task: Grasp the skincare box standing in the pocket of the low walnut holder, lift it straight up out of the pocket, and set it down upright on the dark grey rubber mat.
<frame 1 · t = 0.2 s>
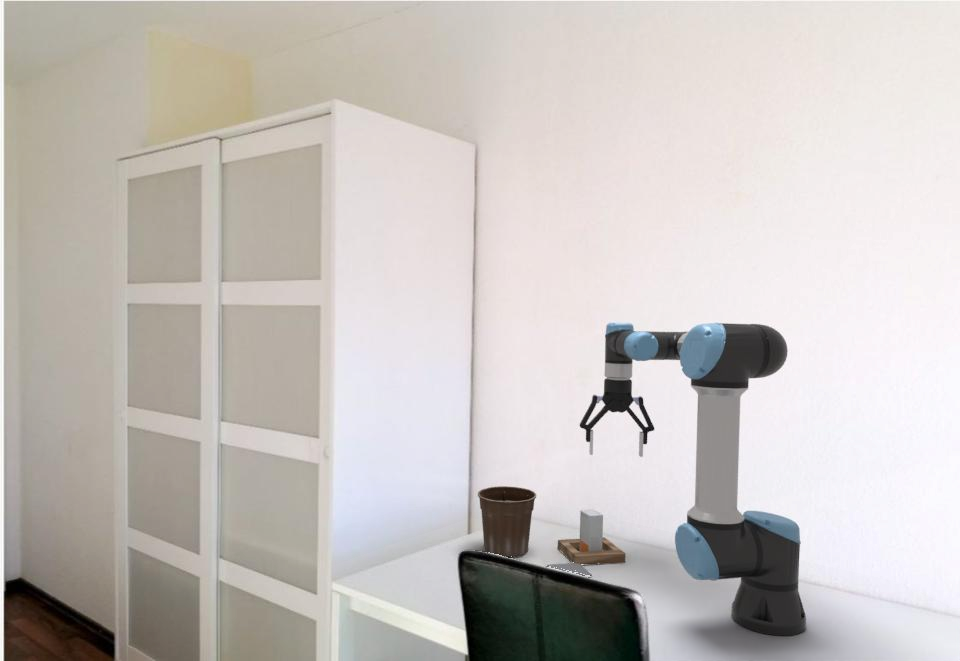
hand: (615, 454, 205), 27 cm above the table, tool pointing down, fingers open, 13 cm apart
holder: (590, 555, 202), on the table
mat: (568, 571, 189), on the table
skincare box: (590, 556, 202), resting in holder
plant pot: (505, 552, 204), on the table
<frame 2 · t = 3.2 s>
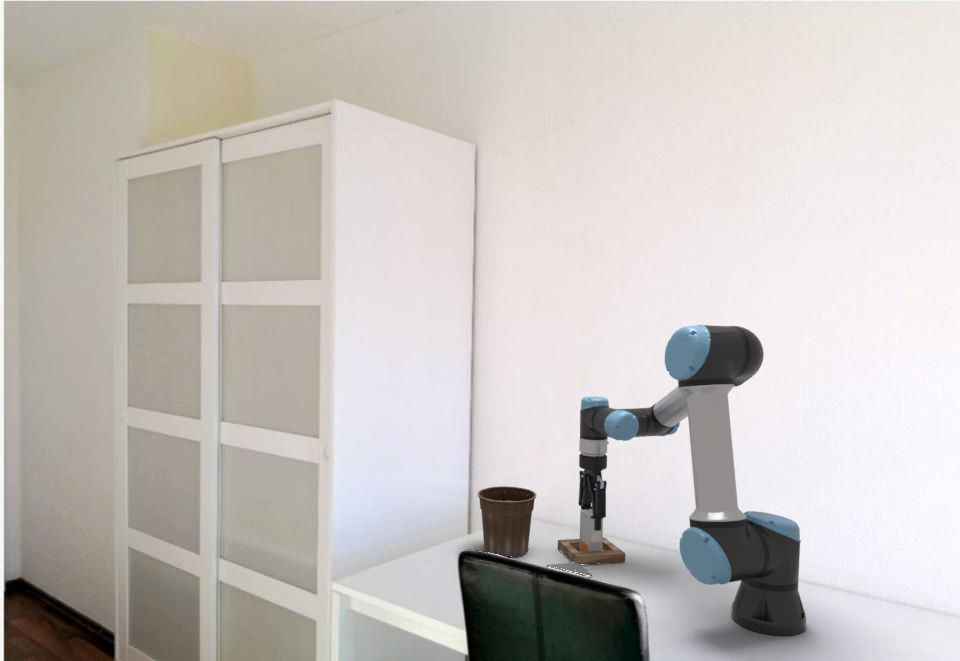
hand: (591, 537, 202), 5 cm above the table, tool pointing down, fingers closed on skincare box, 6 cm apart
skincare box: (590, 556, 202), resting in holder, touching gripper
everything else where it was.
when the fingers open (7 cm above the table, at t = 11.3 s): skincare box drops 1 cm, resting on mat.
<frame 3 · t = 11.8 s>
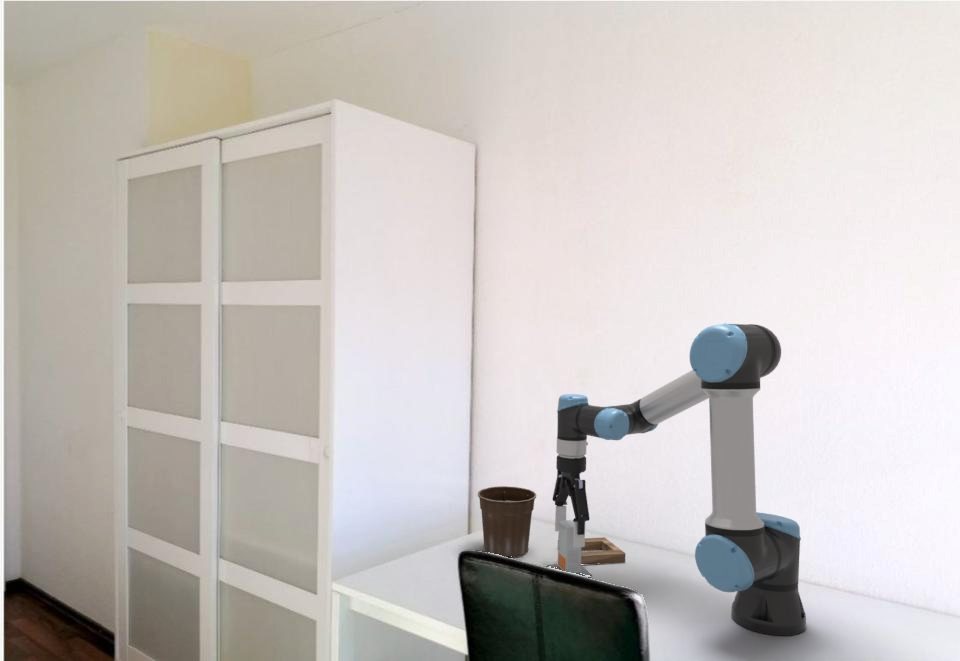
hand: (569, 538, 189), 9 cm above the table, tool pointing down, fingers open, 13 cm apart
skincare box: (569, 570, 189), resting on mat
everything else where it was.
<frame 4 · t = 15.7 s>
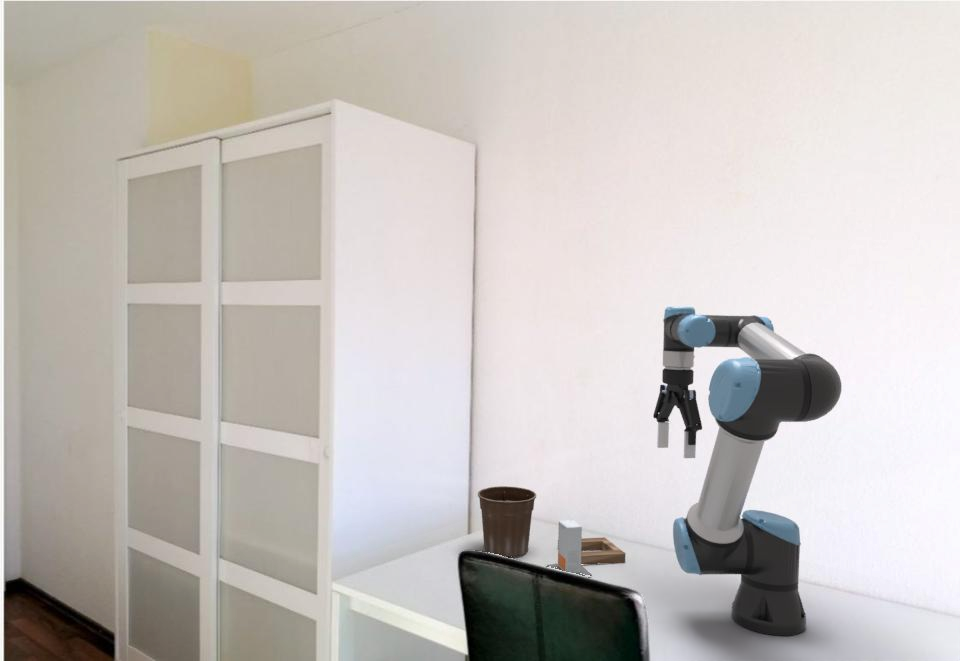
hand: (675, 452, 186), 32 cm above the table, tool pointing down, fingers open, 13 cm apart
nothing on the table moved.
at the end: skincare box inside the target area on the mat (0.2 cm from its centre), point 0.4 cm above the mat's base; skincare box tilted 0°; skincare box touching mat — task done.
